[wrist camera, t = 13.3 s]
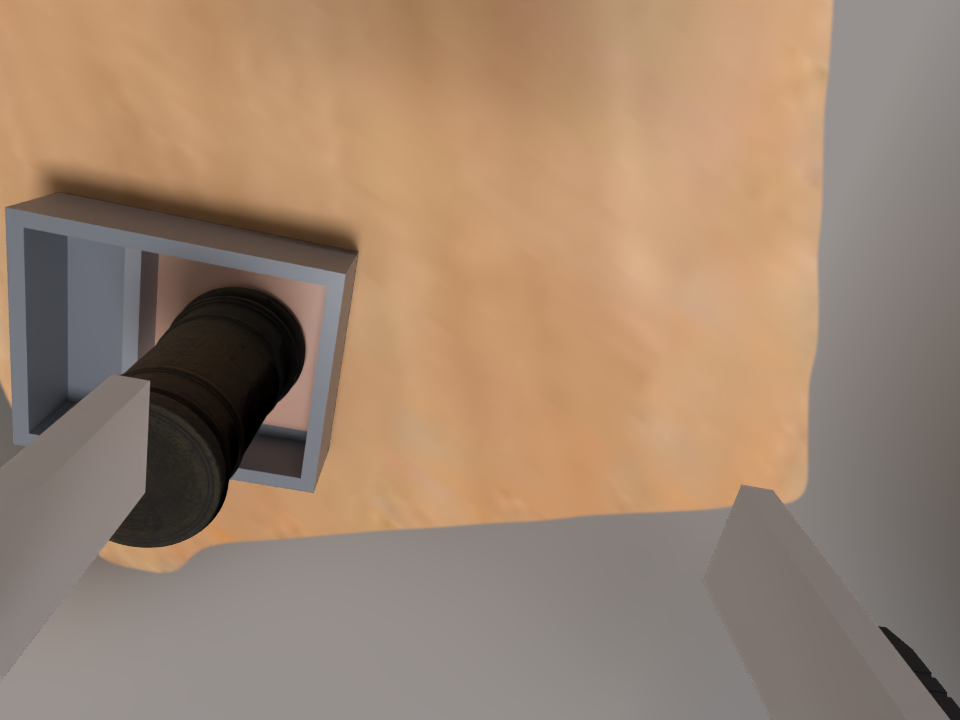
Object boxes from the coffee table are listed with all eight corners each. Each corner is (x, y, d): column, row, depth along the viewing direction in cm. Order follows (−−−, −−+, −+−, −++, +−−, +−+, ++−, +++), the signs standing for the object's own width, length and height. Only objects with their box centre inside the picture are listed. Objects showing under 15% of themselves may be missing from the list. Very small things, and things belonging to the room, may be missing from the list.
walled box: (59, 192, 46) (5, 207, 41) (358, 252, 48) (345, 274, 43) (61, 405, 52) (13, 443, 46) (328, 450, 54) (313, 492, 49)
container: (151, 336, 49) (-9, 468, 32) (241, 257, 47) (121, 354, 30) (244, 424, 52) (141, 587, 35) (332, 353, 50) (268, 489, 33)
